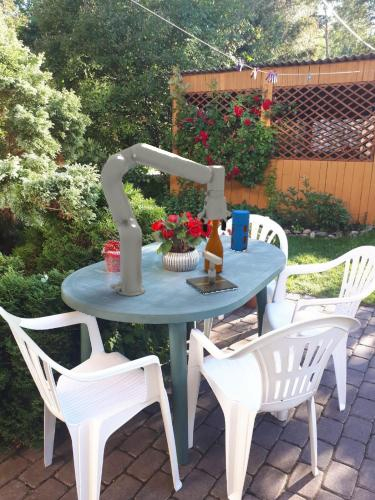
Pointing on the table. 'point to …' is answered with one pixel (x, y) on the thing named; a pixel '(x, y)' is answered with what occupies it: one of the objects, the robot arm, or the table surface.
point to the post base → (213, 286)
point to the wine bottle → (214, 247)
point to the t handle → (212, 259)
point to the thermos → (240, 230)
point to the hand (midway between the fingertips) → (214, 231)
